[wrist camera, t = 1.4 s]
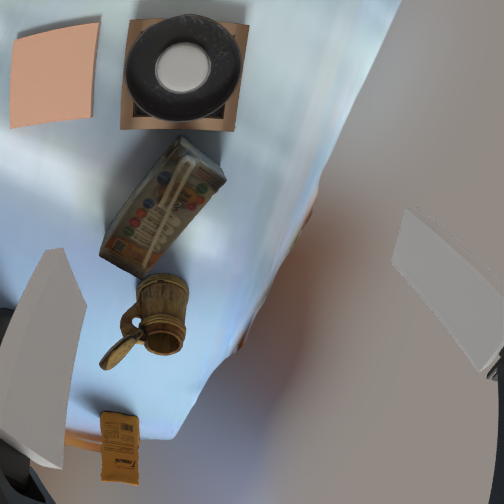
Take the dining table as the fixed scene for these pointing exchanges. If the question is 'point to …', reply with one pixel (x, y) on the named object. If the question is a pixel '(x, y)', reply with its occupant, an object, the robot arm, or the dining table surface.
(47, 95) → the coaster tile
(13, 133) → the dining table surface
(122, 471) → the coffee package
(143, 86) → the travel mug
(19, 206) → the dining table surface
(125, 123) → the collar
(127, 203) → the beverage carton
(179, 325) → the wooden mug
